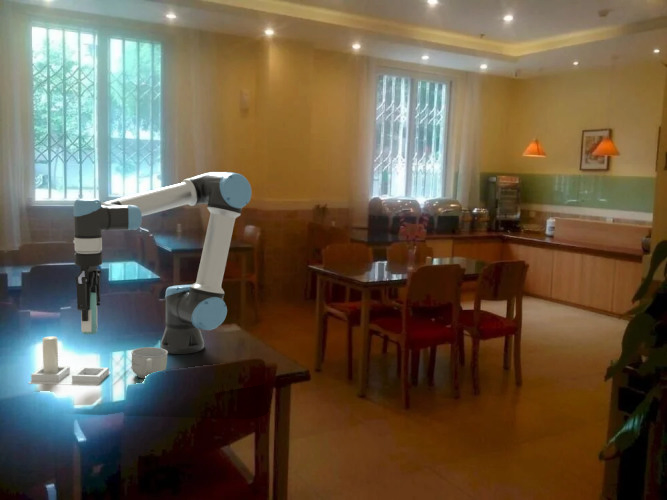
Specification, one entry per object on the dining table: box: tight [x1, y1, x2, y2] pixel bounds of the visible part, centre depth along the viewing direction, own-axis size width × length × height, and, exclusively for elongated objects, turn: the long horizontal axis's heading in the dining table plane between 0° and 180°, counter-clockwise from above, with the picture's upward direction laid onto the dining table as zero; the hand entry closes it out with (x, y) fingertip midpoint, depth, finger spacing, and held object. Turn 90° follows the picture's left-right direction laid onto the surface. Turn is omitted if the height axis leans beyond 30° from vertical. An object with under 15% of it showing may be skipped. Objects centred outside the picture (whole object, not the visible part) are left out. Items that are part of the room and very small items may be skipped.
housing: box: [28, 365, 112, 387], centre depth 185 cm, size 20×12×3 cm, turn 90°
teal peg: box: [82, 292, 98, 336], centre depth 182 cm, size 4×4×12 cm
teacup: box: [131, 346, 169, 379], centre depth 190 cm, size 14×11×8 cm
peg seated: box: [42, 336, 59, 374], centre depth 184 cm, size 4×4×12 cm
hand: (89, 329), depth 183 cm, fingers closed on teal peg, 4 cm apart
